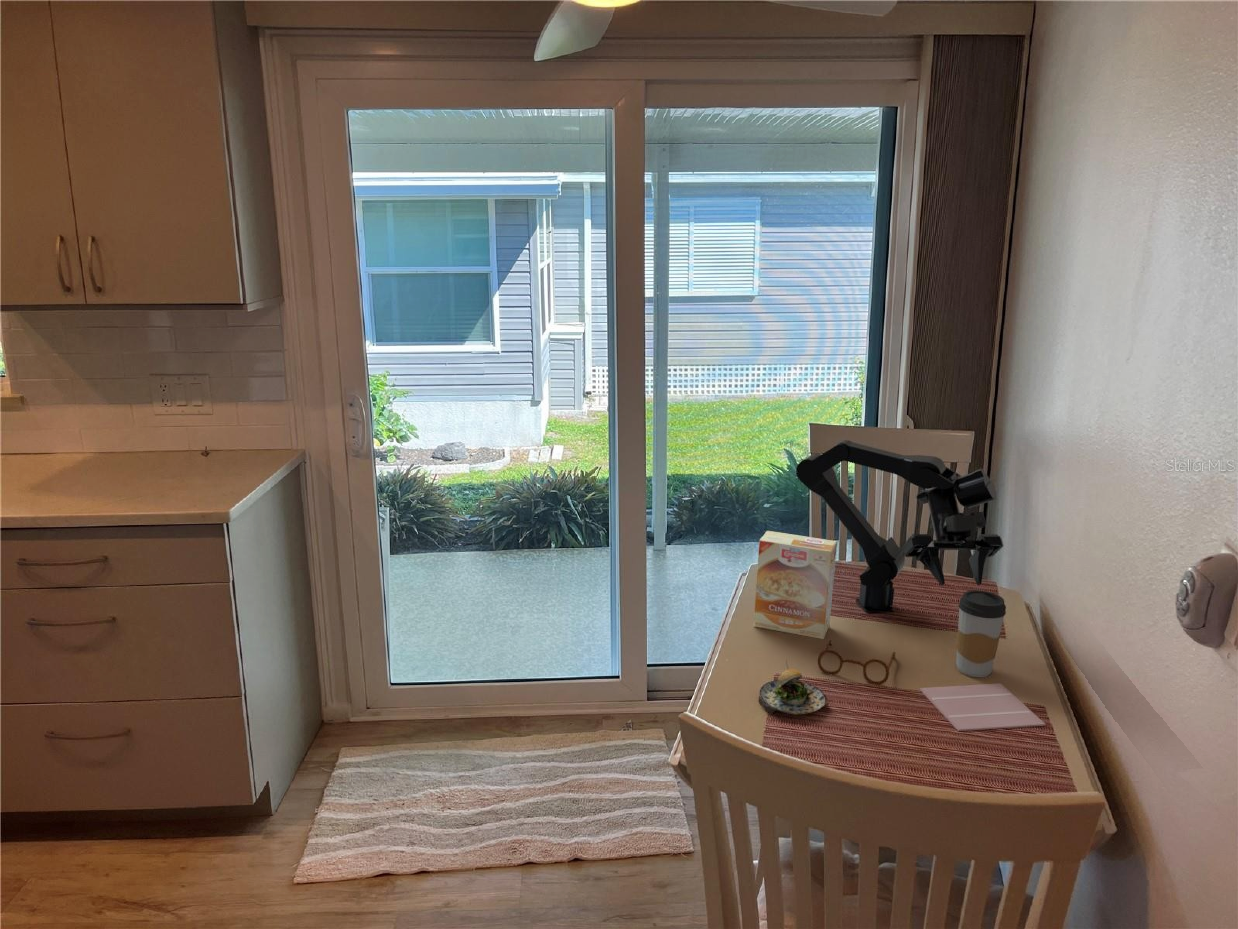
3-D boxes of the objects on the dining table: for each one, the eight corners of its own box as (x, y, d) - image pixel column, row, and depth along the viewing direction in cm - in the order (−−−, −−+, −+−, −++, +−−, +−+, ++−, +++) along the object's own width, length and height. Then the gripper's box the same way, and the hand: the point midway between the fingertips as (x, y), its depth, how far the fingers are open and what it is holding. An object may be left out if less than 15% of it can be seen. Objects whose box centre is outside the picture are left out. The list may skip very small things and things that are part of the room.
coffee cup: (995, 664, 175) (1006, 593, 171) (998, 684, 167) (1009, 610, 163) (950, 656, 177) (959, 586, 173) (950, 676, 170) (960, 602, 166)
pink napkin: (957, 731, 151) (958, 729, 151) (919, 689, 164) (919, 687, 164) (1045, 725, 153) (1045, 723, 153) (1000, 685, 167) (1000, 683, 167)
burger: (766, 722, 153) (769, 683, 151) (751, 688, 164) (754, 651, 162) (835, 721, 154) (838, 682, 152) (815, 687, 165) (819, 650, 163)
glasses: (815, 673, 170) (818, 649, 169) (829, 645, 182) (831, 623, 181) (887, 689, 165) (889, 664, 164) (896, 659, 177) (898, 636, 176)
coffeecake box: (752, 627, 189) (758, 539, 183) (760, 614, 195) (766, 529, 190) (824, 640, 183) (832, 551, 178) (829, 626, 190) (837, 539, 184)
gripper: (914, 496, 178) (930, 569, 170) (1005, 496, 179) (1025, 569, 172) (896, 520, 188) (910, 590, 180) (982, 521, 189) (1000, 590, 181)
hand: (961, 584), depth 178 cm, fingers open, 7 cm apart
